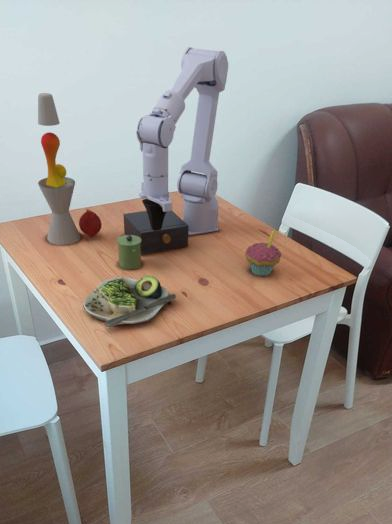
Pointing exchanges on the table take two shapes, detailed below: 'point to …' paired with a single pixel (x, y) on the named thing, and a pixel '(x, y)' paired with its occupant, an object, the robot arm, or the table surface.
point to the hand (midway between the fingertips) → (156, 229)
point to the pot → (129, 251)
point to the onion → (90, 223)
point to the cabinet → (147, 222)
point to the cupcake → (263, 257)
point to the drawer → (164, 238)
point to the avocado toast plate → (127, 300)
